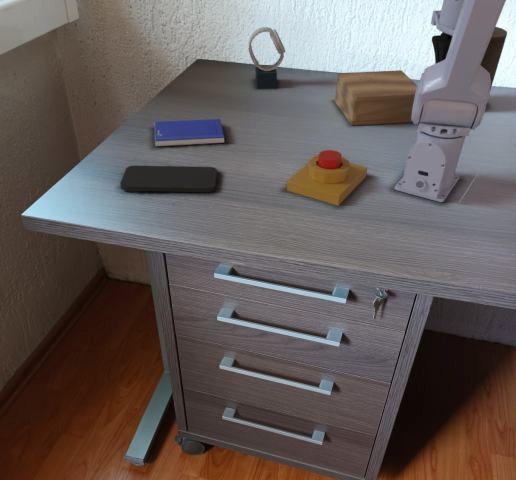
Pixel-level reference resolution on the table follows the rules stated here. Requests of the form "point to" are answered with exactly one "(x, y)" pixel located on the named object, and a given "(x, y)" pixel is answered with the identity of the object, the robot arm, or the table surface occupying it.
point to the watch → (267, 73)
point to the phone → (169, 179)
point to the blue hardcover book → (188, 132)
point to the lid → (378, 85)
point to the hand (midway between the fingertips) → (442, 85)
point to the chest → (372, 108)
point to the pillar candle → (494, 52)
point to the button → (329, 159)
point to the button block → (327, 181)
